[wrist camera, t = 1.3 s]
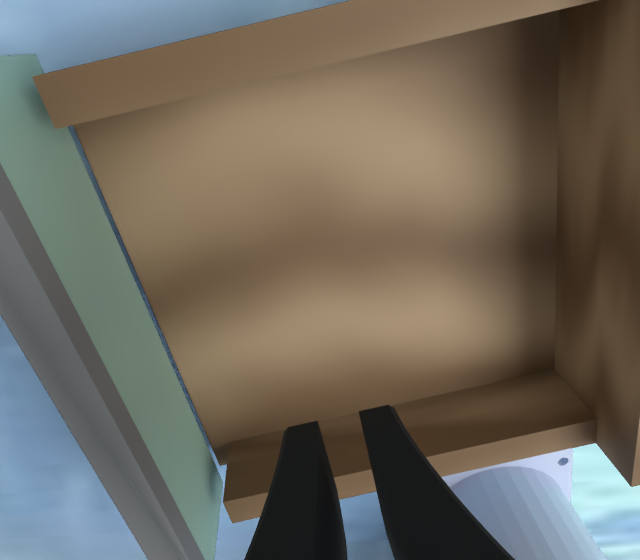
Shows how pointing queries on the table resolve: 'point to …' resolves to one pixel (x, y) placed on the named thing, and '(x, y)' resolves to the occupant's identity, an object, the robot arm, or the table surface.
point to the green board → (96, 332)
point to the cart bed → (385, 226)
